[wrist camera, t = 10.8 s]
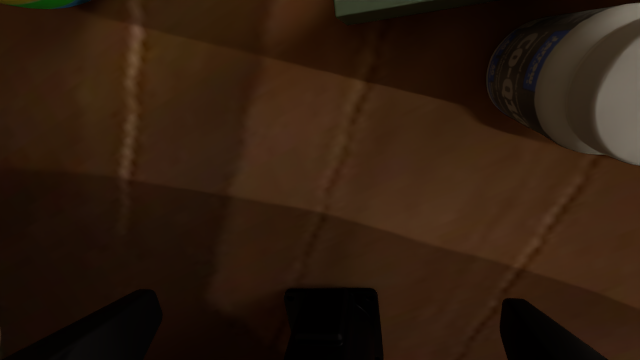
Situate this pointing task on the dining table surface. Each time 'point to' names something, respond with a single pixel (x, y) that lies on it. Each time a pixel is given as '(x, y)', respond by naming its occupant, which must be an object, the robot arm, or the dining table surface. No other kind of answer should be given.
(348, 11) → the back wall
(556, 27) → the pill bottle
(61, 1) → the decorative egg
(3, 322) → the dining table surface
